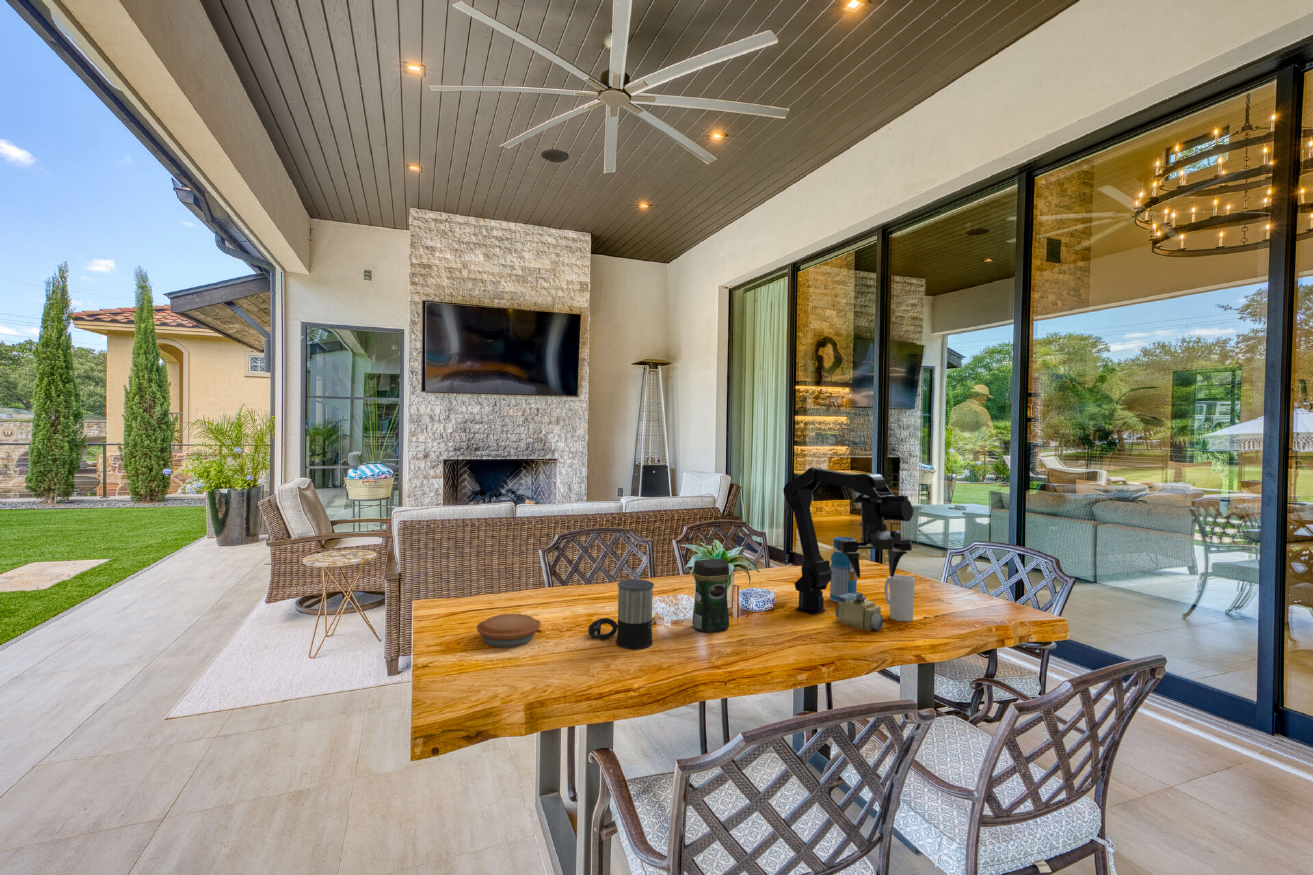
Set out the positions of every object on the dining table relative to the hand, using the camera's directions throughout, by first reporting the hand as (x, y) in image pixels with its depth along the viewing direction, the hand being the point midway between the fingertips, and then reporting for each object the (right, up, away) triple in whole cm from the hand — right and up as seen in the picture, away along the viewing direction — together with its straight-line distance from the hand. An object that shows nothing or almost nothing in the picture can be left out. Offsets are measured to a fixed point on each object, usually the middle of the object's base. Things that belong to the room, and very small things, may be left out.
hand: (875, 577), depth 156 cm
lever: (-6, -8, +2) cm, 10 cm away
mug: (+11, -15, +13) cm, 22 cm away
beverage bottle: (0, -15, +28) cm, 32 cm away
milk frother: (-69, -13, -12) cm, 71 cm away
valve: (-3, -14, +4) cm, 15 cm away
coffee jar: (-45, -14, -1) cm, 47 cm away
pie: (-97, -13, -14) cm, 98 cm away
